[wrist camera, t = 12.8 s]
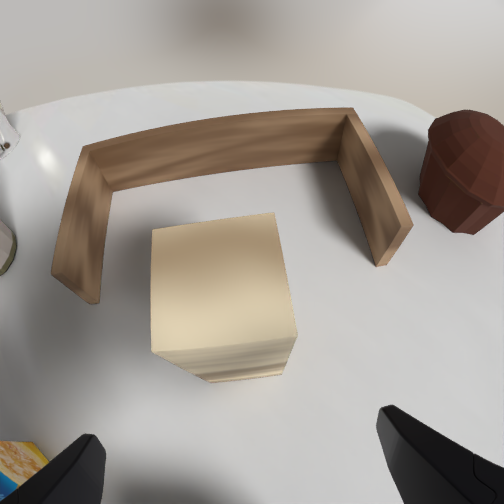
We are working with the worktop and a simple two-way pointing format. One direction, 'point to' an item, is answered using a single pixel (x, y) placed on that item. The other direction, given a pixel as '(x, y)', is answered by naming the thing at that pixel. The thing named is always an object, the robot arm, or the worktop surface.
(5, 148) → the beer glass
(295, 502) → the worktop surface
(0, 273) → the bottle
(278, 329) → the ash block
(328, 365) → the worktop surface
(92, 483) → the robot arm
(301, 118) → the u-shaped wooden wall
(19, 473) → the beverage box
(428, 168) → the muffin
